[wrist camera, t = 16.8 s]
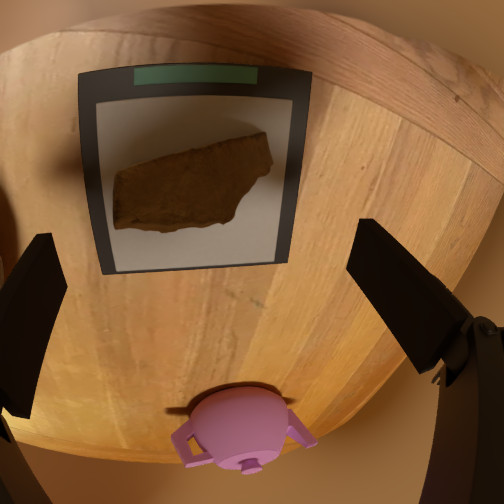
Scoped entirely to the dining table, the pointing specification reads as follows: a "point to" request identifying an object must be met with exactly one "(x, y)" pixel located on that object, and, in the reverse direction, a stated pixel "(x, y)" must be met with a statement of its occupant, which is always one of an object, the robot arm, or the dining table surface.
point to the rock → (190, 185)
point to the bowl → (1, 274)
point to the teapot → (240, 429)
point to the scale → (191, 136)
